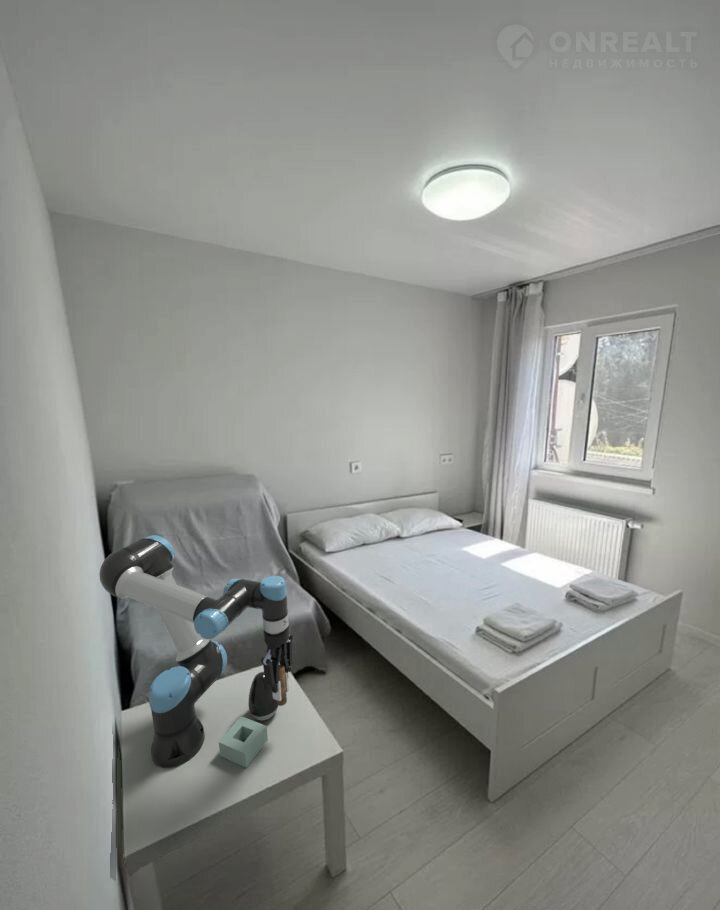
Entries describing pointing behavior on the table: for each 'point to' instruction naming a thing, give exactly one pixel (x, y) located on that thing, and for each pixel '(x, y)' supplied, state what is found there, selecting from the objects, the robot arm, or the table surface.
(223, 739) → the socket block
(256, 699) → the pump dispenser
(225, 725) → the table surface
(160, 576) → the robot arm
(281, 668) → the peg
